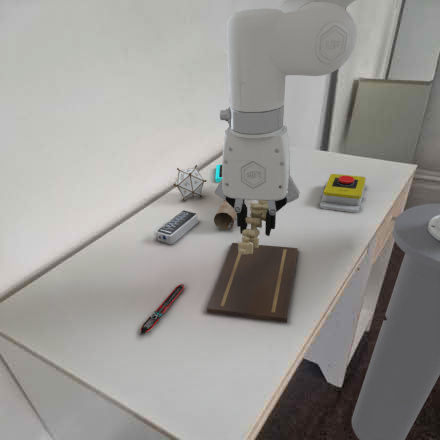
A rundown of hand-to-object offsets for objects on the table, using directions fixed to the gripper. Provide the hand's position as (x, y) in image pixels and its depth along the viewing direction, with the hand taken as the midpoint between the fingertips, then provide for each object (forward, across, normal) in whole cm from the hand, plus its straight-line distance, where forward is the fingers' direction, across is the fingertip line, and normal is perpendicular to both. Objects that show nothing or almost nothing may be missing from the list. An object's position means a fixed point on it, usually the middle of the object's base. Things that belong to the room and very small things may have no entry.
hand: (256, 229), depth 64 cm
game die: (+11, -23, +32) cm, 41 cm away
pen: (+11, -15, -11) cm, 22 cm away
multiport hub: (+11, -21, +15) cm, 28 cm away
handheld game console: (+11, -12, +48) cm, 51 cm away
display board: (+11, 0, 0) cm, 11 cm away
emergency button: (+11, +16, +37) cm, 42 cm away
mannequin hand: (+11, -11, +29) cm, 33 cm away
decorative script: (0, 0, 0) cm, 0 cm away
